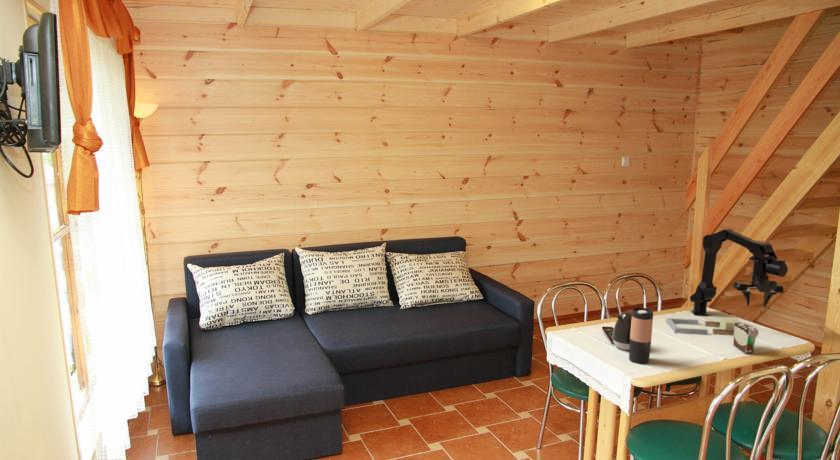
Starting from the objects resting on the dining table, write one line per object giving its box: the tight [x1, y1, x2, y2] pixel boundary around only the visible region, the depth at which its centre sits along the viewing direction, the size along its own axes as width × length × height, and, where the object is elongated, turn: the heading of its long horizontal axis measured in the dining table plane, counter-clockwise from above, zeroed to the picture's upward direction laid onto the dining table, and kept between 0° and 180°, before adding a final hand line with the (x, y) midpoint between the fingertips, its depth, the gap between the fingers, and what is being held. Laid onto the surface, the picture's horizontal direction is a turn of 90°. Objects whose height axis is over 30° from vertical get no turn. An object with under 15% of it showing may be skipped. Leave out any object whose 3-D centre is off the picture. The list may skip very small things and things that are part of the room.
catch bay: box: [665, 317, 709, 336], centre depth 265 cm, size 15×14×2 cm
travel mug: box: [628, 307, 654, 365], centre depth 225 cm, size 8×8×20 cm
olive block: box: [718, 317, 743, 330], centre depth 262 cm, size 7×7×5 cm
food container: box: [732, 321, 759, 355], centre depth 238 cm, size 12×6×10 cm, turn 179°
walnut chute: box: [704, 320, 734, 336], centre depth 262 cm, size 12×16×2 cm
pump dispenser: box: [611, 311, 632, 351], centre depth 238 cm, size 10×10×15 cm
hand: (756, 306), depth 259 cm, fingers open, 6 cm apart
